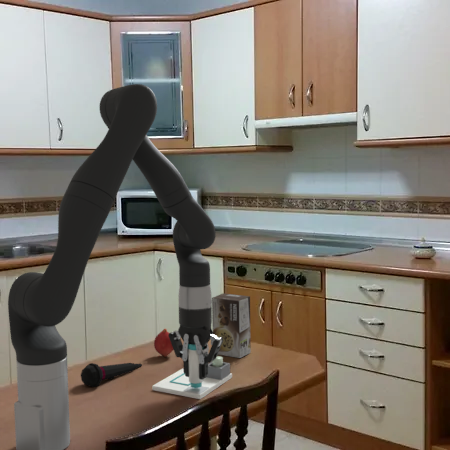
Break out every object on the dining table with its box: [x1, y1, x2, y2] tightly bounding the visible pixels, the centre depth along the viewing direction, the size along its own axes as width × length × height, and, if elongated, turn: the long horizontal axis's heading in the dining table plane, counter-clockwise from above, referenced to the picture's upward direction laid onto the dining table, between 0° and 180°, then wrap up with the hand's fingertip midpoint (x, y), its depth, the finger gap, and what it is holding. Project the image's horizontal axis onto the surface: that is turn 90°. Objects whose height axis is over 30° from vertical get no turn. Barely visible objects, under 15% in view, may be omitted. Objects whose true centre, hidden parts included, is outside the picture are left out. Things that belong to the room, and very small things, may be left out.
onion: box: [153, 327, 174, 358], centre depth 176 cm, size 6×6×8 cm
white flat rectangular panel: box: [151, 368, 233, 400], centre depth 155 cm, size 16×13×1 cm
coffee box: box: [211, 292, 252, 359], centre depth 178 cm, size 9×6×16 cm
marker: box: [188, 344, 203, 388], centre depth 148 cm, size 4×4×10 cm
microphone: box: [80, 362, 143, 388], centre depth 160 cm, size 6×6×20 cm
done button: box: [212, 355, 224, 367], centre depth 158 cm, size 3×3×2 cm
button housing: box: [206, 361, 231, 380], centre depth 158 cm, size 5×5×3 cm
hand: (196, 376), depth 148 cm, fingers closed on marker, 3 cm apart
